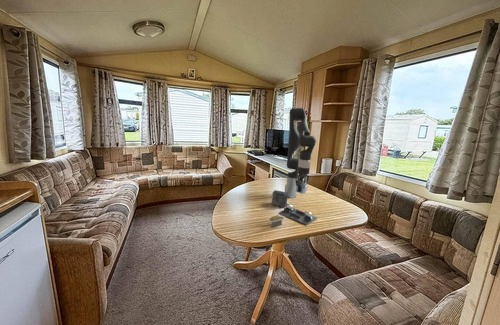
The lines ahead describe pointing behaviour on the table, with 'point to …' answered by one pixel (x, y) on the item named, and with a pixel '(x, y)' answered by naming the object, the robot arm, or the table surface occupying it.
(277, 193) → the small box
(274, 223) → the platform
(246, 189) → the table surface
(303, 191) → the block with round knob
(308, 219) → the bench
